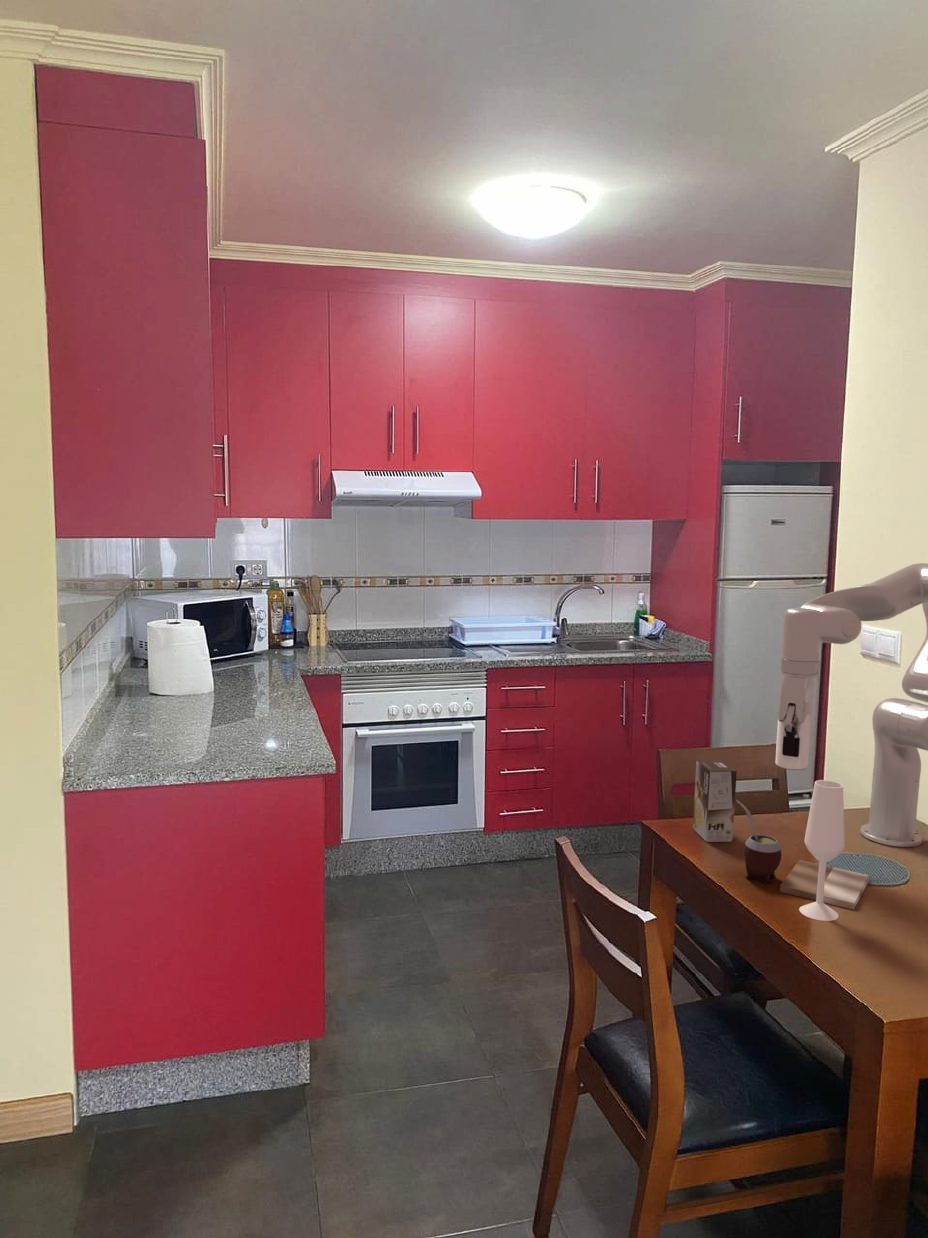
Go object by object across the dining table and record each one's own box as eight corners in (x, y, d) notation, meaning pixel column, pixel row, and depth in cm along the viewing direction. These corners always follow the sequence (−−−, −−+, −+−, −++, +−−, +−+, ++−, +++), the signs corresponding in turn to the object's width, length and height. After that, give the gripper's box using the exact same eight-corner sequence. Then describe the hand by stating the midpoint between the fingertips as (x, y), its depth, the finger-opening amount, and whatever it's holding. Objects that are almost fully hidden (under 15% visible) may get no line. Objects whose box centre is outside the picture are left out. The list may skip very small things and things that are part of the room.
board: (799, 865, 186) (799, 859, 186) (868, 881, 179) (869, 875, 179) (779, 891, 172) (780, 885, 172) (853, 909, 165) (854, 903, 165)
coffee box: (733, 842, 198) (738, 771, 196) (705, 842, 197) (710, 771, 195) (717, 827, 207) (722, 759, 205) (690, 828, 206) (695, 759, 204)
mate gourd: (786, 884, 176) (792, 809, 174) (749, 886, 174) (754, 811, 173) (765, 869, 183) (770, 797, 181) (730, 871, 182) (735, 799, 180)
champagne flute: (845, 914, 163) (856, 785, 160) (826, 924, 159) (837, 792, 156) (811, 901, 168) (821, 776, 165) (791, 910, 164) (801, 782, 161)
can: (802, 772, 185) (805, 715, 184) (770, 767, 189) (774, 710, 188) (811, 766, 190) (815, 710, 189) (781, 760, 194) (784, 705, 193)
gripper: (791, 660, 196) (785, 741, 199) (770, 671, 182) (765, 758, 184) (827, 664, 192) (821, 746, 195) (809, 675, 178) (803, 764, 180)
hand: (794, 751), depth 189 cm, fingers closed on can, 6 cm apart
